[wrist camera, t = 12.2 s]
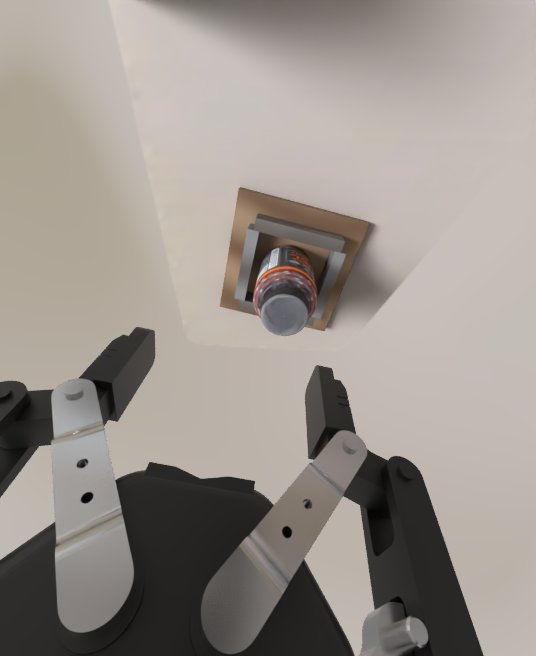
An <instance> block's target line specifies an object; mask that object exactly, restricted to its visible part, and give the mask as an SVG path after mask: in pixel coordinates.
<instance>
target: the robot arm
mask: <svg viewBox="0 0 536 656" xmlns="http://www.w3.org/2000/svg"><path fill="white" fill-rule="evenodd" d="M154 359H155V332H154V330H150V329H145V328H141V327H136V328H135V329H134V330H133V332H132V333H131V334H130V335H129V336H126V335H122V336H120V337H118V338H117V339H115V340H113V341H112V342H111V343H110V344H109V345H108V346H107V347H106V349H105V350H104V351H103V352H102V353H101V355H100V356H98V358H96V360H95V361H94V362H93V363H92V364H91V365H90V366H89V367H88V368H87V370H86V371H85V372H84V373H83V374H82V375H81V376H80V377H79V378H78V379H72V380H68V381H66V382H64V383H62V384H60V385H59V386H57V387H56V388H55V389H54V390H40V391H39V390H38V391H27V388H26V386H25V385H24V384H23V383H21V382H17V381H4V382H0V497H1V496H2V495H3V493H4V492H5V491H6V489H7V488H8V487H9V485H10V484H11V483H12V481H13V480H14V479H15V477H16V476H17V475H18V473H19V472H20V471H21V470H22V468H23V467H24V466H25V464H26V463H27V461H28V460H29V459H30V458H31V456H32V455H33V454H34V452H35V451H36V450H37V448H38V447H39V446H43V445H51V453H52V470H53V471H52V472H53V488H54V506H55V522H54V523H53V524H51V525H50V526H48V527H47V528H45V529H44V530H43V531H41V532H40V533H38V534H37V535H35V536H34V537H33V538H31V539H30V540H28V541H27V542H25V543H24V544H22V545H21V546H20V547H18V548H17V549H15V550H14V551H13V552H11V553H10V554H8V555H7V556H5V557H4V558H2V559H1V560H0V656H354V653H353V650H352V648H351V645H350V643H349V641H348V639H347V637H346V635H345V633H344V631H343V630H342V628H341V626H340V624H339V622H338V620H337V618H336V617H335V615H334V613H333V611H332V609H331V608H330V606H329V604H328V602H327V600H326V599H325V596H324V595H323V593H322V591H321V589H320V588H319V586H318V584H317V582H316V580H315V578H314V576H313V575H312V573H311V571H310V569H309V567H308V565H307V563H306V562H305V560H304V558H305V556H306V555H307V553H308V552H309V550H310V548H311V547H312V545H313V543H314V542H315V540H316V539H317V537H318V535H319V534H320V532H321V531H322V529H323V527H324V526H325V524H326V522H327V521H328V519H329V518H330V516H331V515H332V513H333V511H334V510H335V508H336V506H337V505H338V503H339V502H340V500H341V498H342V497H343V496H344V497H346V498H348V499H350V500H352V501H353V502H355V503H357V504H359V505H360V508H361V515H362V522H363V530H364V536H365V544H366V550H367V558H368V565H369V573H370V579H371V587H372V594H373V601H374V608H375V610H374V611H372V612H371V613H370V614H368V615H367V617H366V619H365V621H364V624H363V630H362V649H361V653H360V655H359V656H483V653H482V650H481V647H480V644H479V641H478V638H477V635H476V632H475V629H474V626H473V623H472V620H471V618H470V615H469V612H468V609H467V606H466V603H465V600H464V597H463V594H462V591H461V588H460V585H459V582H458V579H457V576H456V574H455V571H454V568H453V565H452V562H451V559H450V556H449V553H448V550H447V547H446V544H445V541H444V538H443V536H442V533H441V530H440V527H439V524H438V521H437V518H436V515H435V512H434V509H433V506H432V503H431V500H430V497H429V494H428V492H427V489H426V486H425V483H424V480H423V477H422V475H421V473H420V471H419V470H418V468H417V467H416V466H415V465H414V464H413V463H412V462H410V461H409V460H407V459H405V458H403V457H400V456H394V457H391V458H390V459H389V460H385V459H384V458H382V457H380V456H377V455H375V454H373V453H371V452H370V451H369V450H367V448H366V445H365V443H364V442H363V441H362V439H361V438H360V437H359V436H357V435H356V432H355V427H354V423H353V418H352V414H351V409H350V407H349V400H348V396H347V392H346V389H345V387H344V386H343V384H342V383H341V381H340V380H335V379H334V376H333V371H332V368H328V367H323V366H318V365H317V366H316V367H315V369H314V371H313V373H312V376H311V378H310V381H309V383H308V386H307V389H306V394H305V405H306V423H307V440H308V458H309V459H313V460H314V461H313V462H312V463H309V464H308V465H307V467H306V468H305V469H304V470H303V471H302V473H301V474H300V475H299V476H298V477H297V479H296V480H295V481H294V482H293V483H292V485H291V486H290V487H289V488H288V489H287V491H286V492H285V493H284V494H283V495H282V497H281V498H280V499H279V500H278V502H277V503H276V504H275V505H273V504H272V503H271V502H270V501H269V499H267V498H266V497H265V496H264V495H262V494H261V493H259V492H257V491H256V490H254V484H255V481H251V480H245V479H240V478H234V477H220V478H208V479H200V478H198V477H196V476H193V475H192V474H189V473H187V472H185V471H183V470H181V469H179V468H177V467H174V466H168V465H163V464H157V463H152V462H149V464H148V467H147V469H146V470H144V471H138V472H134V473H130V474H127V475H125V476H123V477H121V478H118V479H117V480H115V477H114V472H113V468H112V462H111V458H110V453H109V448H108V443H107V439H106V434H105V429H104V426H105V424H106V423H107V421H108V420H112V421H118V420H119V418H120V417H121V415H122V414H123V412H124V410H125V409H126V407H127V405H128V404H129V402H130V401H131V399H132V398H133V396H134V394H135V393H136V391H137V390H138V388H139V386H140V385H141V383H142V381H143V380H144V378H145V377H146V375H147V374H148V372H149V370H150V368H151V367H152V365H153V362H154Z"/></svg>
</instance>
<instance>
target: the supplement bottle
mask: <svg viewBox="0 0 536 656" xmlns="http://www.w3.org/2000/svg"><path fill="white" fill-rule="evenodd" d="M317 301H318V297H317V289H316V284H315V278H314V273H313V267H312V264H311V261H310V259H309V257H308V255H307V254H306V253H305V252H304V251H303V250H302V249H300V248H298V247H296V246H292V245H281V246H278V247H275V248H274V249H272V250H270V251H269V252H268V253H267V254H266V256H265V257H264V259H263V261H262V264H261V268H260V271H259V275H258V278H257V282H256V286H255V290H254V295H253V303H254V308H255V310H256V312H257V314H258V316H259V317H260V318H261V320H262V323H263V325H264V326H265V328H266V329H267V330H269V331H270V332H272V333H274V334H276V335H281V336H289V335H293V334H296V333H297V332H299V331H300V330H302V329H303V328H304V326H305V325H306V323H307V321H308V320H309V319H310V318H311V316H312V315H313V313H314V311H315V309H316V306H317Z"/></svg>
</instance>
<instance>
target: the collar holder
mask: <svg viewBox="0 0 536 656" xmlns="http://www.w3.org/2000/svg"><path fill="white" fill-rule="evenodd" d="M368 226H369V223H368V222H367V221H364V220H360V219H356V218H352V217H349V216H345V215H341V214H338V213H334V212H330V211H326V210H323V209H319V208H315V207H312V206H308V205H304V204H301V203H297V202H293V201H289V200H286V199H282V198H278V197H275V196H271V195H267V194H263V193H260V192H256V191H252V190H249V189H245V188H241V187H240V188H239V191H238V197H237V203H236V210H235V216H234V222H233V228H232V235H231V241H230V247H229V253H228V260H227V266H226V272H225V278H224V285H223V291H222V297H221V303H220V307H224V308H228V309H232V310H236V311H241V312H245V313H249V314H253V315H258V314H257V312H256V310H255V308H254V303H253V295H254V290H255V286H256V282H257V278H258V275H259V271H260V268H261V264H262V261H263V259H264V257H265V256H266V254H267V253H268V252H269V251H270V250H272V249H274V248H275V247H278V246H281V245H292V246H296V247H298V248H300V249H302V250H303V251H304V252H305V253H306V254H307V255H308V257H309V259H310V261H311V264H312V267H313V273H314V278H315V284H316V289H317V297H318V301H317V306H316V309H315V311H314V313H313V315H312V316H311V318H310V319H309V320H308V321H307V323H306V325H305V326H304V327H308V328H313V329H317V330H321V331H325V328H326V326H327V324H328V321H329V319H330V317H331V314H332V312H333V309H334V307H335V305H336V302H337V300H338V298H339V295H340V293H341V290H342V288H343V286H344V283H345V281H346V278H347V276H348V274H349V271H350V269H351V267H352V264H353V262H354V259H355V257H356V255H357V252H358V250H359V248H360V245H361V243H362V240H363V238H364V236H365V233H366V231H367V229H368Z"/></svg>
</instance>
